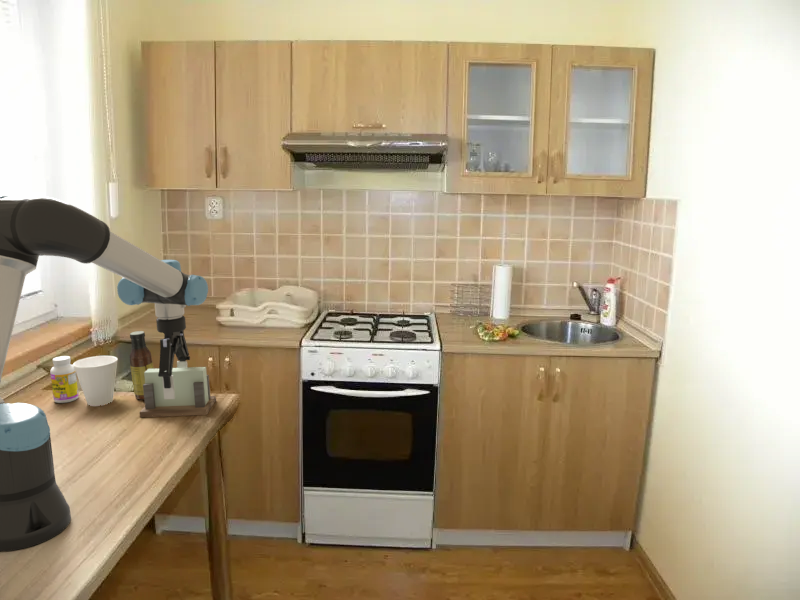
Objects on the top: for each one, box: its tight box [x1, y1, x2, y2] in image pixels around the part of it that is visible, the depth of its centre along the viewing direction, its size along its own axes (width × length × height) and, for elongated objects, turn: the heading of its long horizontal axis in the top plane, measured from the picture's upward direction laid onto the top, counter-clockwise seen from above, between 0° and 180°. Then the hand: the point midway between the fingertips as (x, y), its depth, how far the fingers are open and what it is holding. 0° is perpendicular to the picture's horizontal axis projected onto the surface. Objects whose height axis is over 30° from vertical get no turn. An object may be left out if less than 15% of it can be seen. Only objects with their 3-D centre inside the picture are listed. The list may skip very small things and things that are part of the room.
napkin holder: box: [139, 374, 217, 418], centre depth 184 cm, size 11×18×8 cm, turn 93°
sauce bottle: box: [129, 330, 154, 401], centre depth 193 cm, size 7×6×20 cm
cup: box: [72, 355, 119, 407], centre depth 190 cm, size 12×12×12 cm
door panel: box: [144, 366, 209, 407], centre depth 183 cm, size 4×16×10 cm, turn 93°
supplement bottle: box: [49, 355, 80, 404], centre depth 192 cm, size 7×7×13 cm
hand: (177, 390), depth 183 cm, fingers open, 13 cm apart
